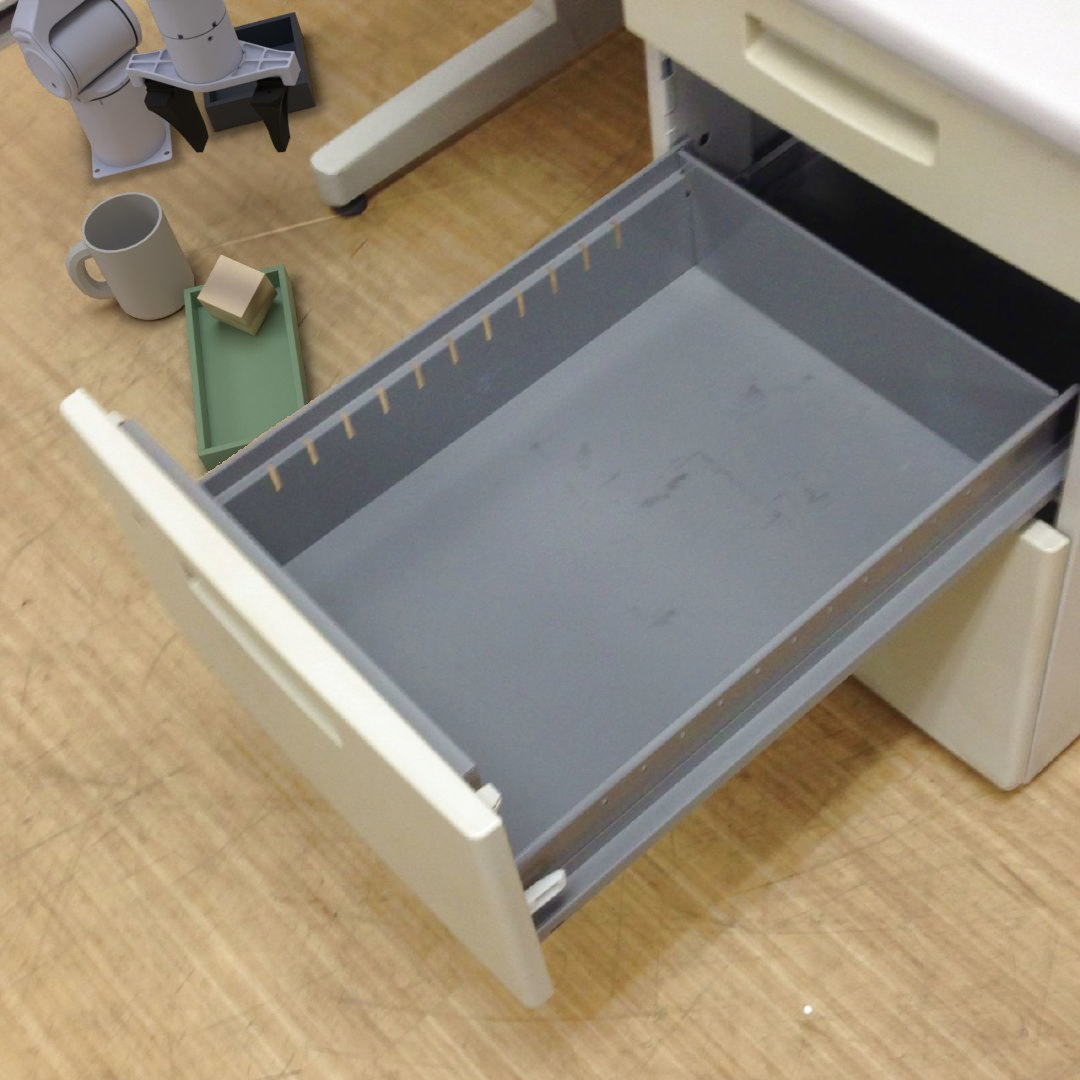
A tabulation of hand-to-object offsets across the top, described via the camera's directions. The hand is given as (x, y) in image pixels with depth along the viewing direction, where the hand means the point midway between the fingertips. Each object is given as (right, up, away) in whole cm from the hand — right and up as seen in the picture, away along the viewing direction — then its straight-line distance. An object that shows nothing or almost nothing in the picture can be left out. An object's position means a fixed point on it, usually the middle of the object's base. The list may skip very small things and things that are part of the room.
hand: (243, 144), depth 133 cm
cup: (-10, -13, +5) cm, 17 cm away
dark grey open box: (-2, +11, +19) cm, 22 cm away
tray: (+1, -21, -2) cm, 21 cm away
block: (0, -14, 0) cm, 14 cm away
